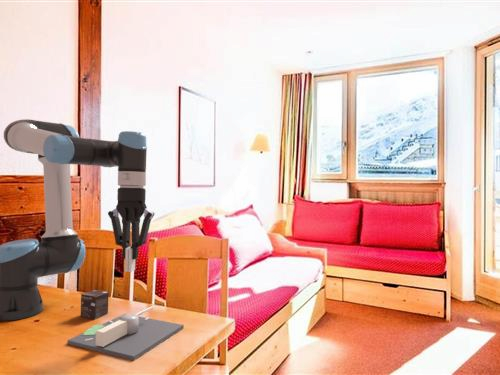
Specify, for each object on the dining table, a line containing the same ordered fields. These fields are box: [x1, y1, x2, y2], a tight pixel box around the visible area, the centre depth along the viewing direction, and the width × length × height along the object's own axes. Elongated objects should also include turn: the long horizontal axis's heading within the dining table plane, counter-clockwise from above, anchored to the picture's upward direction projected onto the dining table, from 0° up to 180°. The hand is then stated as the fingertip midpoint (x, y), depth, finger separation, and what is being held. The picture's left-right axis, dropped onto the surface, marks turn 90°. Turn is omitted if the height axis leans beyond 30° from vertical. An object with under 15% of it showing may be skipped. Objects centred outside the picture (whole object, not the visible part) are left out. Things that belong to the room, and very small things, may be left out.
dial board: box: [67, 313, 185, 361], centre depth 103 cm, size 23×22×1 cm
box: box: [80, 289, 109, 320], centre depth 118 cm, size 6×6×7 cm
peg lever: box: [96, 305, 154, 347], centre depth 102 cm, size 21×5×4 cm, turn 158°
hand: (130, 270), depth 102 cm, fingers closed
